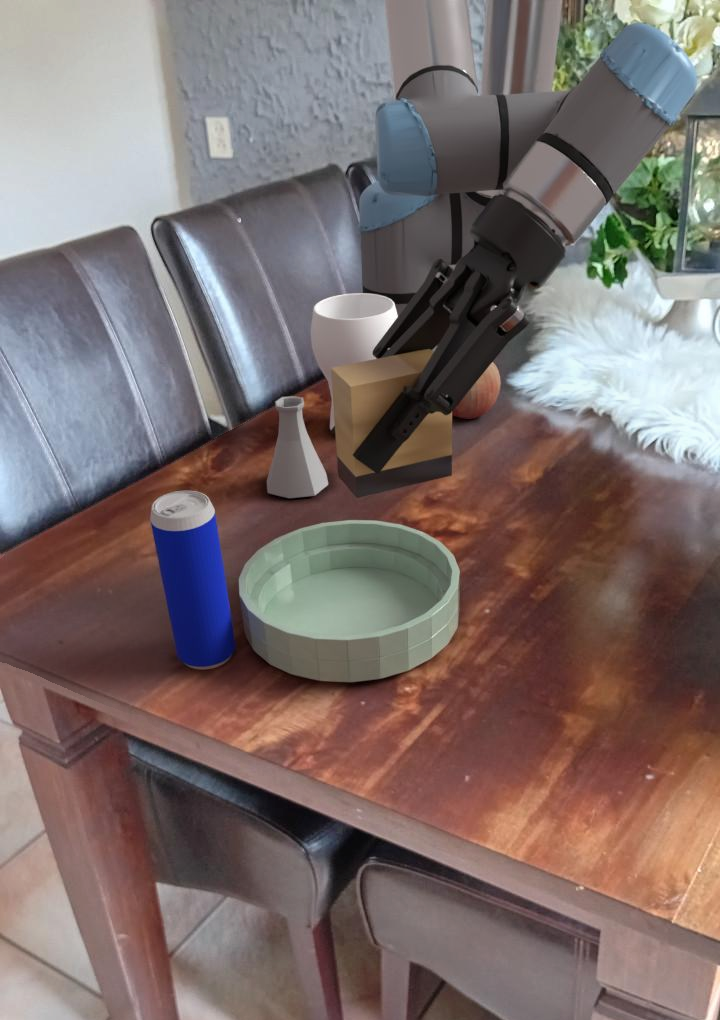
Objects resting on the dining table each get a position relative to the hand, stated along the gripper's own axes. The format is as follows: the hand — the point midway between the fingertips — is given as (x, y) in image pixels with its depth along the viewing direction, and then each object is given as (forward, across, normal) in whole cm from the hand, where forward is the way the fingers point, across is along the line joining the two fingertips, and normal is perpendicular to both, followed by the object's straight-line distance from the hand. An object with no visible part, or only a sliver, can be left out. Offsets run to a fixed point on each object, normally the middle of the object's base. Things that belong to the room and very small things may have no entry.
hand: (354, 451), depth 86 cm
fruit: (-9, +33, -30) cm, 45 cm away
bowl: (+12, -3, -9) cm, 15 cm away
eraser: (0, 0, -5) cm, 5 cm away
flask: (+9, +24, -12) cm, 29 cm away
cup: (+1, +36, -21) cm, 41 cm away
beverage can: (+22, -2, 0) cm, 22 cm away
